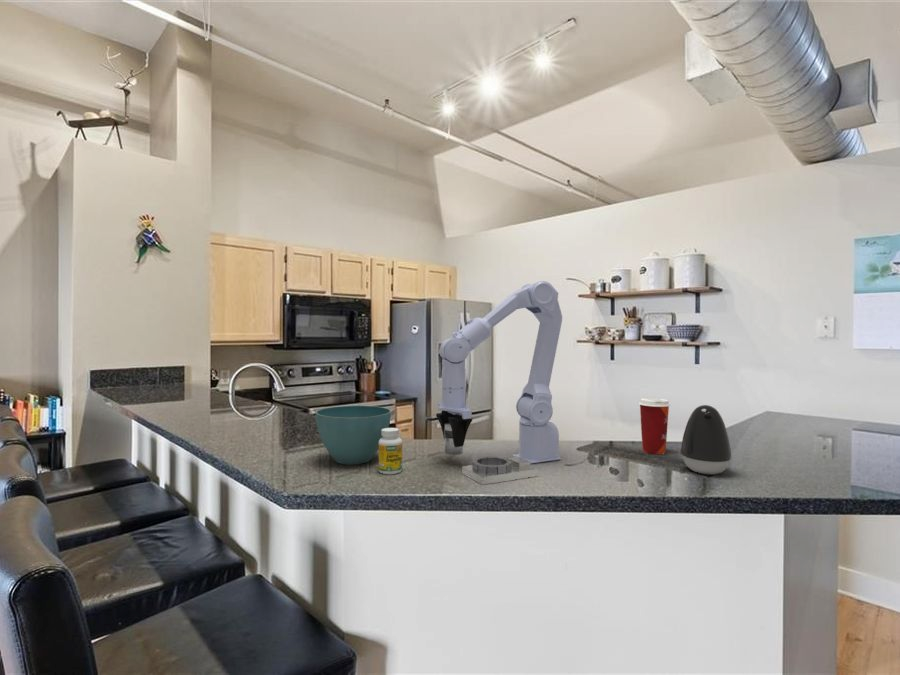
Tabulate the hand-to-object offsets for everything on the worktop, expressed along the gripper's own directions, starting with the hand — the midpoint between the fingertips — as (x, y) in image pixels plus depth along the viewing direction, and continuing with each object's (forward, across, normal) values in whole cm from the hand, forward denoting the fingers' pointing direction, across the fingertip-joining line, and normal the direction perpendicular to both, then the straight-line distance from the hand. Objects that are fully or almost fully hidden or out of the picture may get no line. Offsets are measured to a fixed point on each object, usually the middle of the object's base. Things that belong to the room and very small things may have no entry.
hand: (453, 444), depth 117 cm
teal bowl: (+5, -13, -21) cm, 25 cm away
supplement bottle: (+5, 0, -16) cm, 17 cm away
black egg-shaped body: (+5, +31, +49) cm, 58 cm away
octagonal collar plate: (+5, +13, +5) cm, 15 cm away
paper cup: (+5, +13, +53) cm, 55 cm away
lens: (+2, 0, 0) cm, 2 cm away
